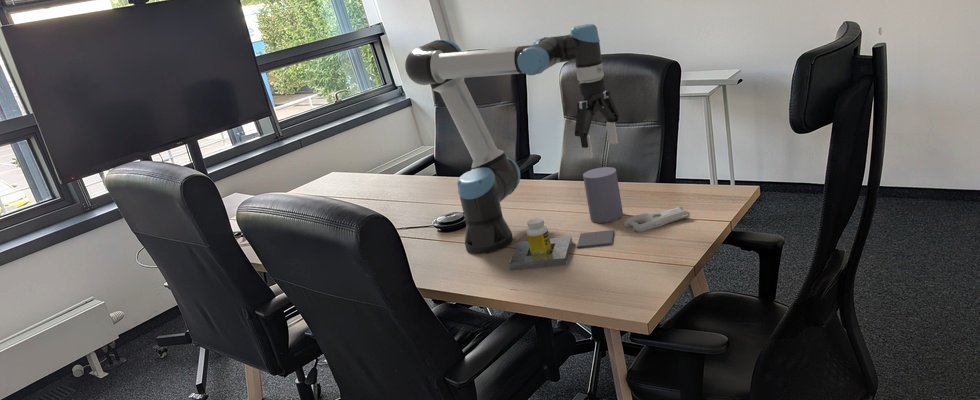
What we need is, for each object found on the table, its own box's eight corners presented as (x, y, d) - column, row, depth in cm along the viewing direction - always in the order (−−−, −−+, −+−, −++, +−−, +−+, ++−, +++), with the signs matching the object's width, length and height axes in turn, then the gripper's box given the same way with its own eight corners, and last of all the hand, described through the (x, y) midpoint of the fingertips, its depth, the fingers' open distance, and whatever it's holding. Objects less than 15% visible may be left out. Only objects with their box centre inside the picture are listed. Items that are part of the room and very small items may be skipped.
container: (584, 218, 239) (576, 174, 234) (612, 209, 242) (605, 165, 237) (601, 226, 229) (593, 180, 225) (629, 216, 232) (622, 170, 228)
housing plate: (510, 270, 211) (509, 263, 210) (520, 248, 226) (519, 242, 225) (566, 264, 207) (564, 258, 206) (572, 242, 221) (571, 236, 221)
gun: (676, 200, 228) (690, 209, 218) (678, 210, 229) (692, 220, 219) (620, 217, 226) (632, 227, 217) (622, 227, 227) (634, 238, 218)
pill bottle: (551, 259, 213) (544, 223, 209) (530, 261, 214) (523, 226, 211) (553, 250, 218) (547, 215, 215) (533, 253, 220) (526, 218, 217)
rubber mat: (577, 248, 216) (576, 246, 216) (580, 235, 225) (580, 233, 225) (611, 244, 214) (611, 242, 213) (613, 231, 223) (613, 229, 223)
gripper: (577, 90, 203) (588, 164, 210) (625, 69, 220) (633, 138, 227) (555, 90, 208) (566, 162, 215) (603, 70, 225) (612, 137, 232)
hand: (601, 150), depth 221 cm, fingers open, 13 cm apart
